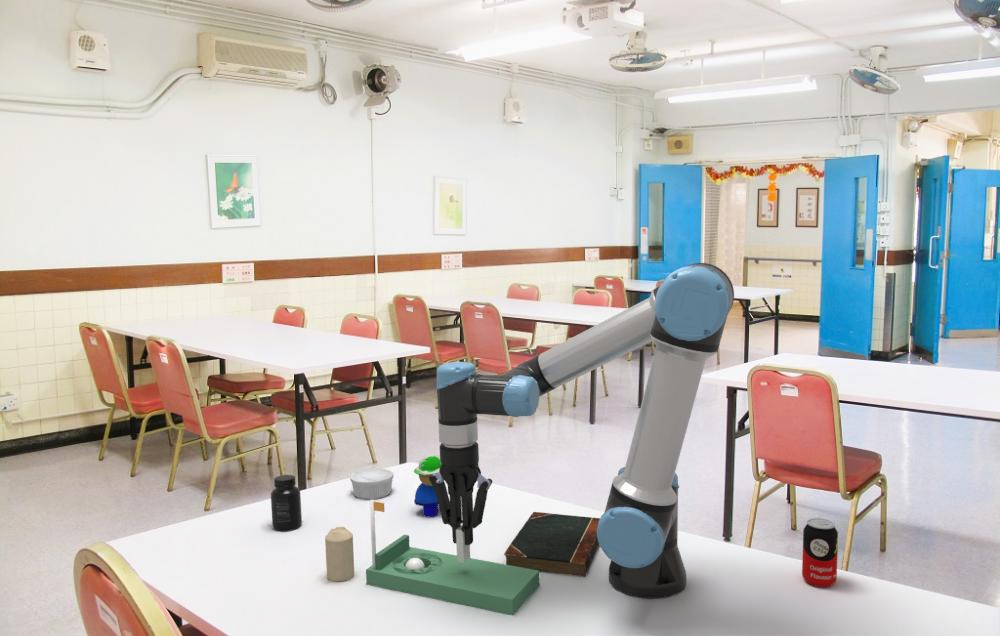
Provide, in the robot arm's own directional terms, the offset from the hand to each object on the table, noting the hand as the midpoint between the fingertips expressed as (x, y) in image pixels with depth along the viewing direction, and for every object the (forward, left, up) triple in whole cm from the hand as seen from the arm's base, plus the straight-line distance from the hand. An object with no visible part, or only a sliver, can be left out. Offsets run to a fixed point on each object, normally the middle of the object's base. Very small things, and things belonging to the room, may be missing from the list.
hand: (463, 559), depth 157 cm
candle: (+26, +6, -6) cm, 27 cm away
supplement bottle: (+54, -11, -6) cm, 55 cm away
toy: (+26, -32, -6) cm, 42 cm away
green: (+3, 0, -6) cm, 6 cm away
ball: (+11, 0, -4) cm, 12 cm away
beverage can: (-63, -29, -6) cm, 70 cm away
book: (-10, -24, -6) cm, 27 cm away
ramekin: (+48, -38, -6) cm, 61 cm away
